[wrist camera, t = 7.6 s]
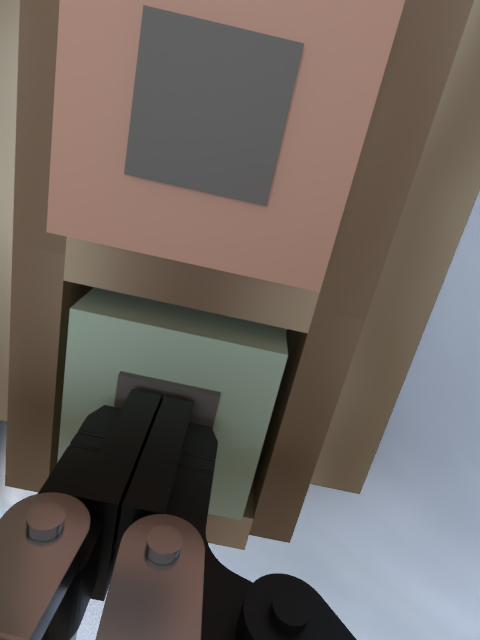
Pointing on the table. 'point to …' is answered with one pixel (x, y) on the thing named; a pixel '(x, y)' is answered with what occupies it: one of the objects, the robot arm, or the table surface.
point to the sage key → (178, 376)
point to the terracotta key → (215, 127)
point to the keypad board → (246, 292)
